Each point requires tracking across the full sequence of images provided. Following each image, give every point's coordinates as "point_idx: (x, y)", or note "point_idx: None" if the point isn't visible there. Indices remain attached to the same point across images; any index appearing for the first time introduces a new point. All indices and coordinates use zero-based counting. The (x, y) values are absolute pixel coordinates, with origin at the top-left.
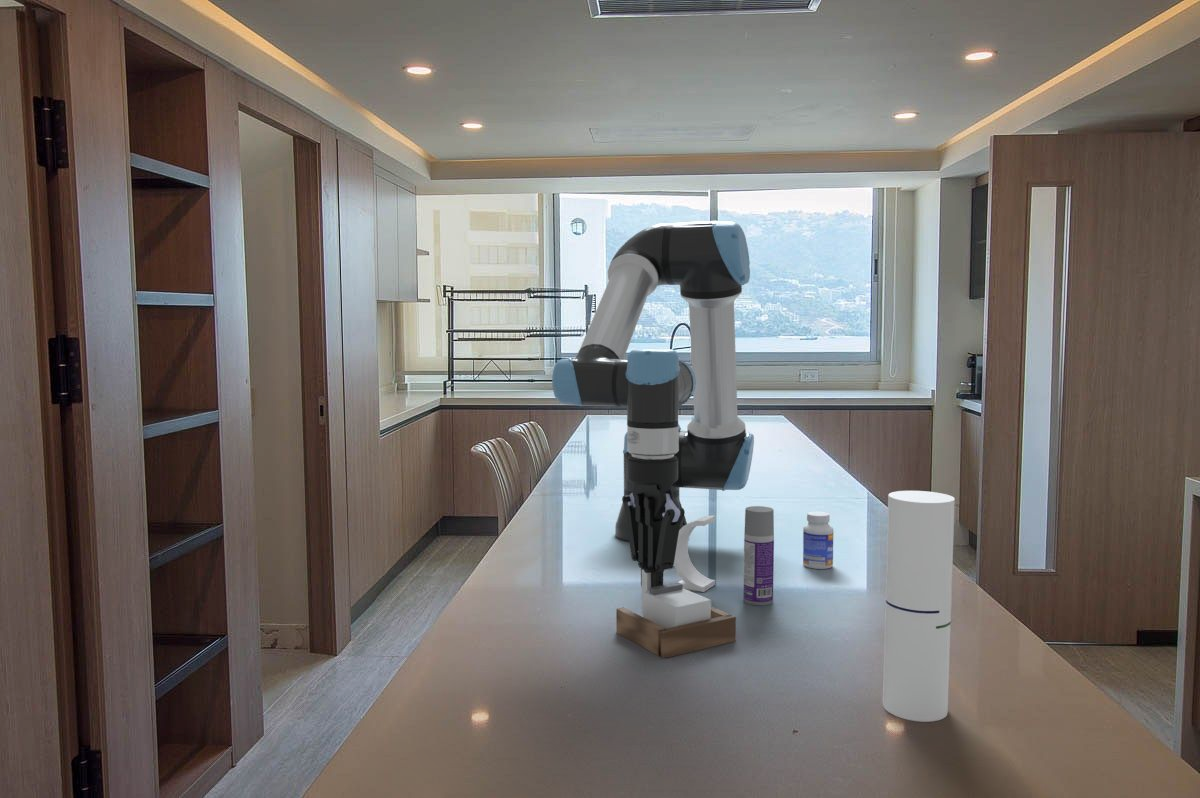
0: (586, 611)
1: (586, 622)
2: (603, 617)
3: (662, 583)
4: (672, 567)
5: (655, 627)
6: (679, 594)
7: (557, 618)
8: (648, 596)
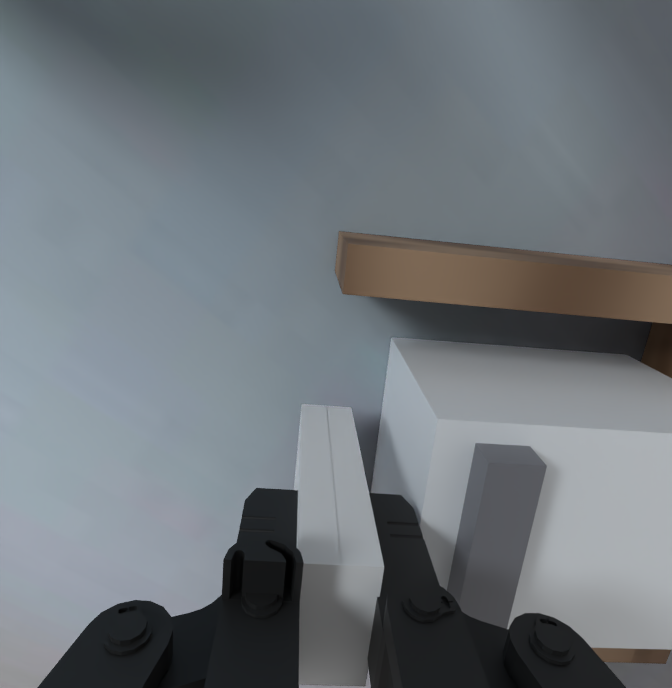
0: (12, 532)
1: (140, 595)
2: (122, 518)
3: (420, 539)
4: (568, 631)
5: (600, 654)
6: (582, 519)
7: (38, 651)
8: None
